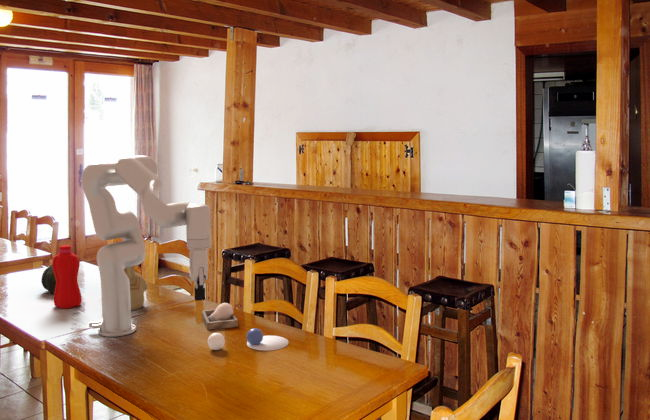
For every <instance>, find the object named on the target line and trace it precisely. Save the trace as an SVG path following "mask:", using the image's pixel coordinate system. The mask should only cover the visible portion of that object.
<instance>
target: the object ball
mask: <svg viewBox="0 0 650 420" xmlns="http://www.w3.org/2000/svg"><path fill="white" fill-rule="evenodd" d="M263 336H264V333H263V331H262V330H261V329H260V328H256V327H253V328H251V329H249V330H248V331H247V334H246V340H247V341H248V342H249V343H250V344H252V345H258V344H259V343H261V341H262V340H263Z"/></svg>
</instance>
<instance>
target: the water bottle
mask: <svg viewBox="0 0 650 420" xmlns="http://www.w3.org/2000/svg"><path fill="white" fill-rule="evenodd" d="M58 249H59V250H58V251H59V253H57V254H56V255H55V256H54V257H53V258H52V263H51V265H52V268H53V271H54V274H55V277H56V287H55V292H54V294H53V304H54V306H55V307H56V308H60V309H63V310H64V309H66V310H67V309H70V308H75V307H79V306H80V305H81V304H82V293H81V289H80V285H79V283H78V275H79V270H80V265H81V264H80V259H79V256H78V255H76V254H75V253H73V252H72V246H71V245H69V244H65V245H60V246H59V247H58Z"/></svg>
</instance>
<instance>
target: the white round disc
mask: <svg viewBox="0 0 650 420" xmlns="http://www.w3.org/2000/svg"><path fill="white" fill-rule="evenodd" d="M289 343H290V342H289V340H288V339H287V338H286V337H283V336H279V335H263V340H262V341H261V343H259V344H258V345H252V344H250V343H249V342H248V341H247V342H246V346H247V347H248V348H250V349H252V350H256V351H265V352H267V351H268V352H269V351H277V350H281V349H284V348H285V347H287V346H288V345H289Z"/></svg>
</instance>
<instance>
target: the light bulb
mask: <svg viewBox="0 0 650 420" xmlns="http://www.w3.org/2000/svg"><path fill="white" fill-rule="evenodd" d="M215 309H216V310H215V311H214V313H212V314H211V315H210V316H209V317H207V318H208V319H209V322H214V321H225V320H231V319H230V318H231V317H232V315H233V313H234V307H233V306H232V305H231V304H230V303H228V302H222V303H220V304H219V305H218V306H217V307H216V308H215Z"/></svg>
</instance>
